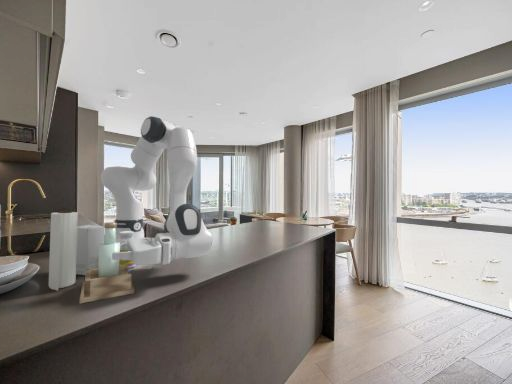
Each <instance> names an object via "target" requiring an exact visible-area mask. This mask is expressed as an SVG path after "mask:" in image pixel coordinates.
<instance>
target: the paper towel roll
mask: <svg viewBox="0 0 512 384" xmlns="http://www.w3.org/2000/svg"><path fill="white" fill-rule="evenodd" d="M78 220H79V212H76V211H58V212H51V214H50V236H49V263H48V288H49V289H51V290H54V291H55V290H56V291H59V289H62V288H67V287H71V286H72V285H74V284H75V283H76V282H77V280H76V277H77V276H76V275H77V274H76V254H77V227H78V226H79V225H78Z"/></svg>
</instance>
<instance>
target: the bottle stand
mask: <svg viewBox="0 0 512 384" xmlns="http://www.w3.org/2000/svg"><path fill="white" fill-rule="evenodd" d="M128 271H129V269H128V264H126V265H119V275H116V276H109V277H102V278H98V268H95V269H87V270H86V275H84V276H85V277H84V282H83V283H82V285H81V290H80V295H79V304H85V303H90V302H96V301H100V300H106V299H111V298H116V297H120V296H126V295H130V294H135V287H134V284H133V281H132V273H128Z"/></svg>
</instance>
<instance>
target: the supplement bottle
mask: <svg viewBox="0 0 512 384" xmlns="http://www.w3.org/2000/svg"><path fill="white" fill-rule="evenodd" d="M133 235H134V232H133V231H123V232H120V233H119V236H120V239H118V240H117V241H116V242H120V244H122V243H127V240H128V239H130V238H133ZM127 251H128V250H121V251H120V252H127ZM126 264H128V270H129V269H132V268H134V267H135V266H136V265H135V264H133V261H132V260H120V259H119V265H126Z"/></svg>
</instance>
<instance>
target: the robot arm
mask: <svg viewBox="0 0 512 384" xmlns="http://www.w3.org/2000/svg"><path fill="white" fill-rule="evenodd" d="M140 135H141V136H140V138H139V139H138V140H137V142H136V144H135V146H134V147H133V149H132V151H131V152H130V160H131V162H132V163H133V164H134V166H133V167H127V166H126V167H125V166H119V165H118V166H108V167H106V168H104V169H103V170H102V172H101V175H100V181H101V184H102V185H103V187H104V188H106V189H107V190H108V191H109V192H110V193H111V195H112V196H113V199H114V201H115V206H116V207H115V209H116V210H115V212H116V215H115V217H116V218H115V220H113V221H112V222H116V223H117V227H116V234H115V242H116V241H117V240H118V239H120V236H119V233H120V232H123V231H133V232H134V235H133V238H130V239H128V240H127V243H122V244H120V251H121V250H128V251H127V252H113V253H112V259H113V260H119V259H120V260H132V261H133V264H135V266H148V265H156V264H161V265H163V266H165V265H169V264H170V263H171V261H175V260H178V259H190V258H191V259H192V258H197V257H201V256H204V255H206V254H208V253H209V251H210V250H211V247H212V245H213V235H212V233H211V232H210V231H209V230H208V228H207V227H206V225H205V223H204V221H203V218H202V214H201V211H200V209H199V208H198V207H197V206H195V205H194V204H191V203H187V191H188V187H189V184H190V183H191V180H192V178H193V176H194V175H195V173H196V170H197V164H198V152H197V150H198V149H197V144H196V141H195V137H194V134H193V132H192V131H191V130H190V129H188V128H186V127H184V126H179V125H177V124H175V123H171V122H170V121H167V120H164V119H161V118H160V117H157V116H151V115H150V116H148V117H147V118H145V119H144V121H143V122H142V124H141V127H140ZM165 149H166V158H167V169H168V181H169V197H168V198H169V203H168V206H169V207H168V208H169V209H168V215H167V217H166V219H165V221H164V224H163V231H164V232H158V233H156V234H155V236H154V237H145V230H144V228H143V226H144V219H143V208H144V207H143V203H142V201H141V200H140V199H138V198H136V196H135V193H134V191H136V192H139V191H141V192H143V191H149V190H152V189H154V188H155V186H156V184H157V176H156V174H155V172H154V168H155V166H156V164H157V162H158V160H159V159H160V158H161V156H162V154H163V152H164V150H165ZM104 239H105V234H104Z"/></svg>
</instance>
